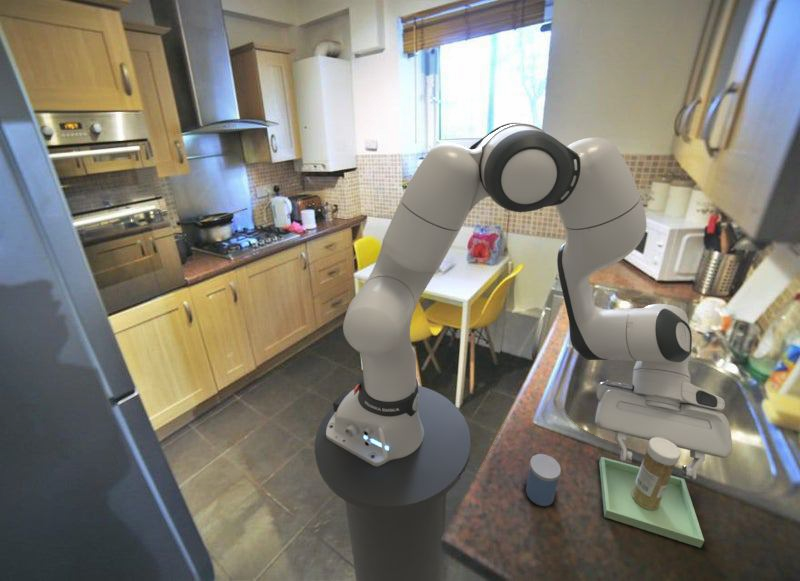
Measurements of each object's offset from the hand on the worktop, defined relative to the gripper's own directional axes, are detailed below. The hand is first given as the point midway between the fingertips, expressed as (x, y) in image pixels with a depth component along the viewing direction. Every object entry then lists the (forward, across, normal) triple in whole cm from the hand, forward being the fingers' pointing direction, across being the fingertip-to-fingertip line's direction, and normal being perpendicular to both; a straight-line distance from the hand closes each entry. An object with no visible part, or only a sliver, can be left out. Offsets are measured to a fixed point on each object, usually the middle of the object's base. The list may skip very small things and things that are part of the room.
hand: (656, 469), depth 64 cm
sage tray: (+6, 0, +6) cm, 8 cm away
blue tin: (+10, -18, +2) cm, 21 cm away
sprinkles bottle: (+6, 0, +6) cm, 8 cm away
